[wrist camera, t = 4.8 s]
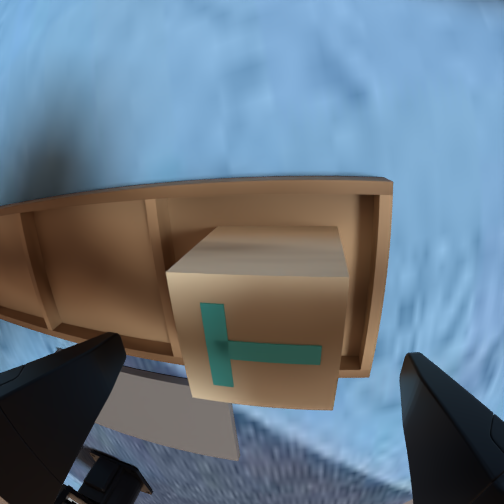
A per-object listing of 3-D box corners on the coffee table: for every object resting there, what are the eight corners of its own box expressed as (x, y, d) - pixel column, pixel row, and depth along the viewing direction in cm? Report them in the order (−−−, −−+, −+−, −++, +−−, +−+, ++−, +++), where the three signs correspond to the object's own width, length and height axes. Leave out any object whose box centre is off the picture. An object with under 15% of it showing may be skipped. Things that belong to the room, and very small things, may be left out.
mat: (240, 454, 19) (238, 460, 19) (92, 416, 22) (89, 420, 22) (228, 384, 17) (226, 391, 16) (59, 348, 20) (54, 352, 19)
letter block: (331, 330, 14) (332, 411, 9) (227, 325, 15) (191, 398, 10) (337, 226, 12) (349, 277, 7) (217, 226, 13) (164, 272, 8)
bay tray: (366, 358, 14) (368, 377, 13) (2, 308, 20) (-9, 315, 19) (384, 177, 11) (392, 181, 10) (-24, 211, 17) (-36, 216, 16)
